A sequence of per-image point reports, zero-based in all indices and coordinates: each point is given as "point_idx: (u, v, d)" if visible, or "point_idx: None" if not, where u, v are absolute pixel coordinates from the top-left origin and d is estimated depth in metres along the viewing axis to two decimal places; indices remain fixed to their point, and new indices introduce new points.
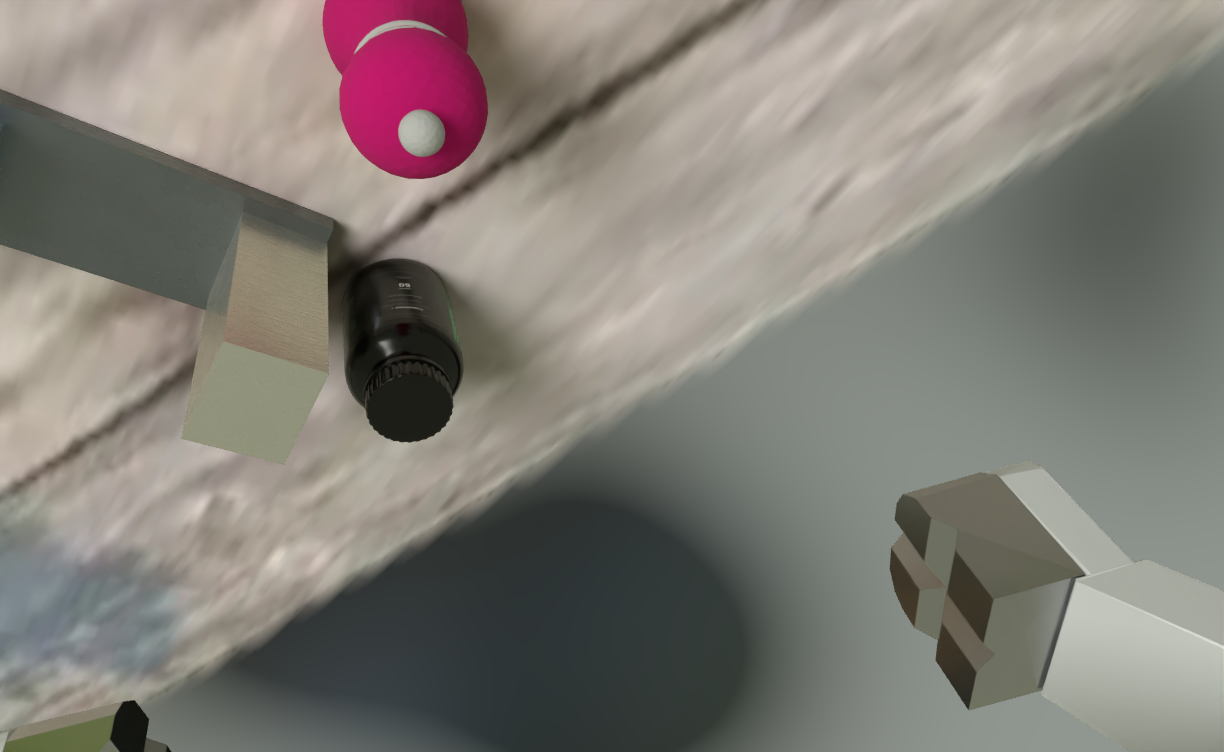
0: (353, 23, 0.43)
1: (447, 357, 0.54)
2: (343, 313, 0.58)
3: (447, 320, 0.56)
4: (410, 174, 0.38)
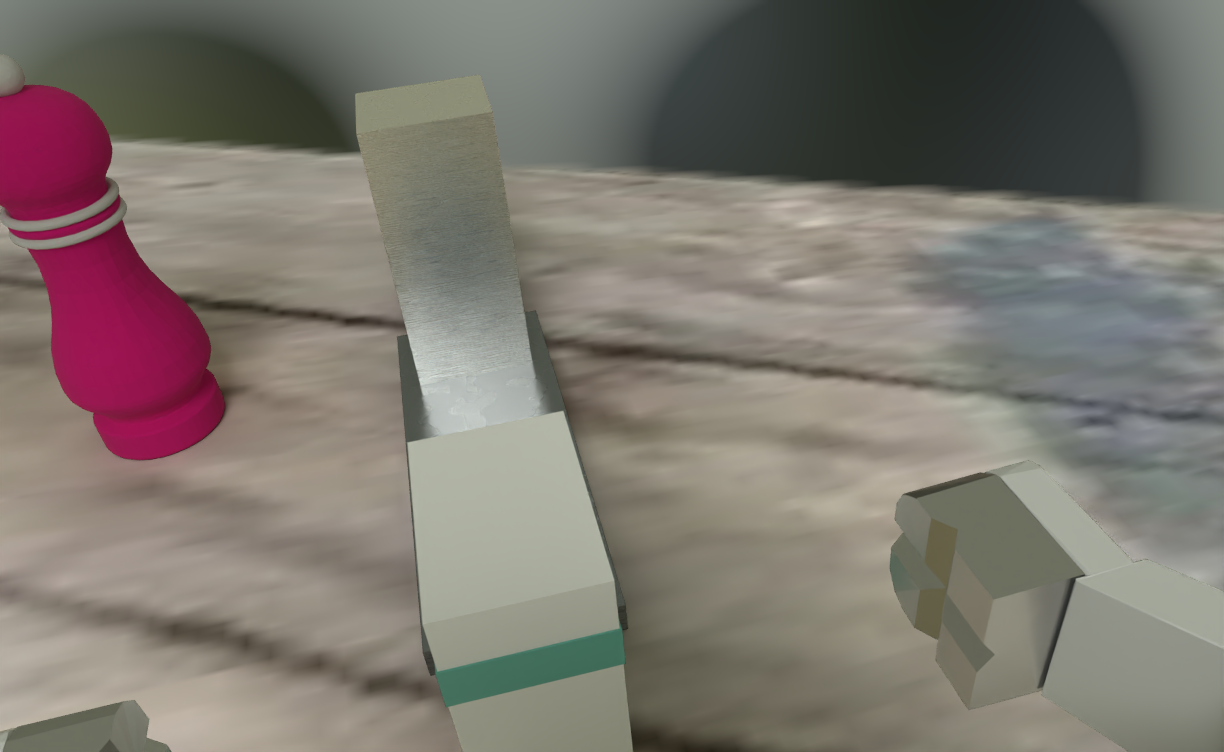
0: (94, 328, 0.44)
1: None
2: None
3: None
4: (75, 98, 0.41)
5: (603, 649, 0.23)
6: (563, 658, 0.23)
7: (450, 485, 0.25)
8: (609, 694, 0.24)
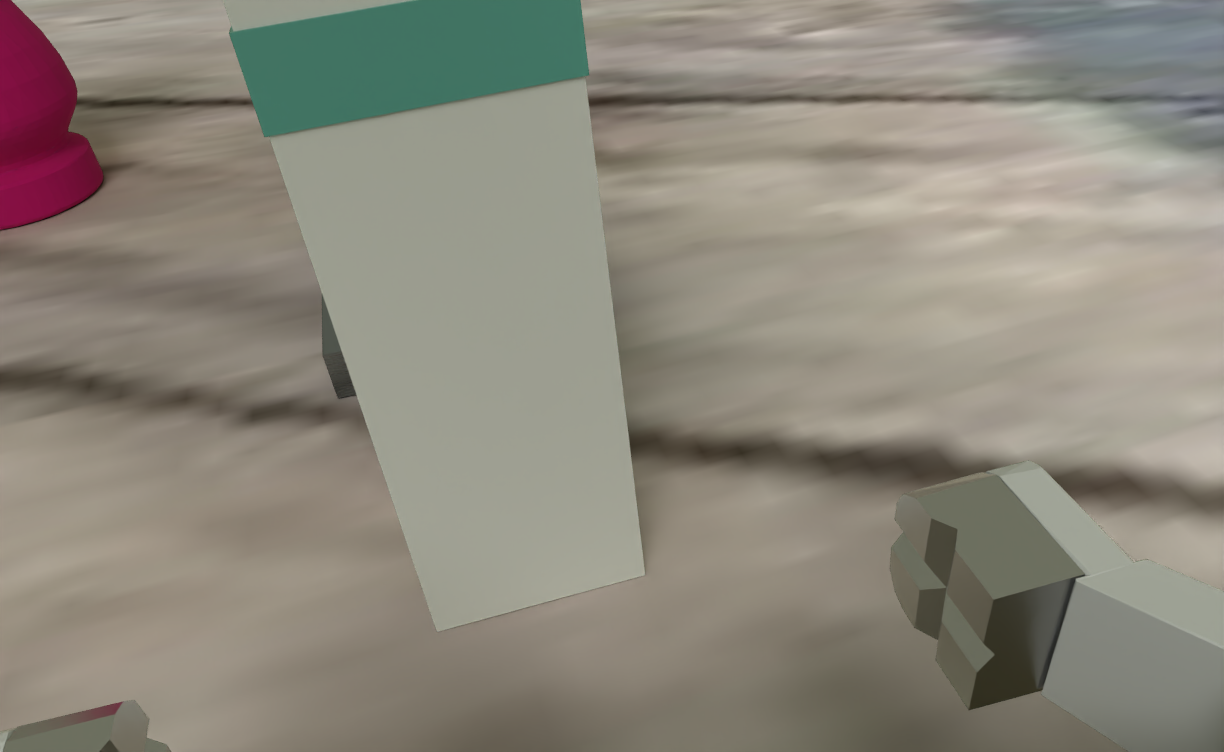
0: None
1: None
2: None
3: None
4: None
5: (546, 26, 0.13)
6: (473, 37, 0.13)
7: None
8: (565, 160, 0.14)
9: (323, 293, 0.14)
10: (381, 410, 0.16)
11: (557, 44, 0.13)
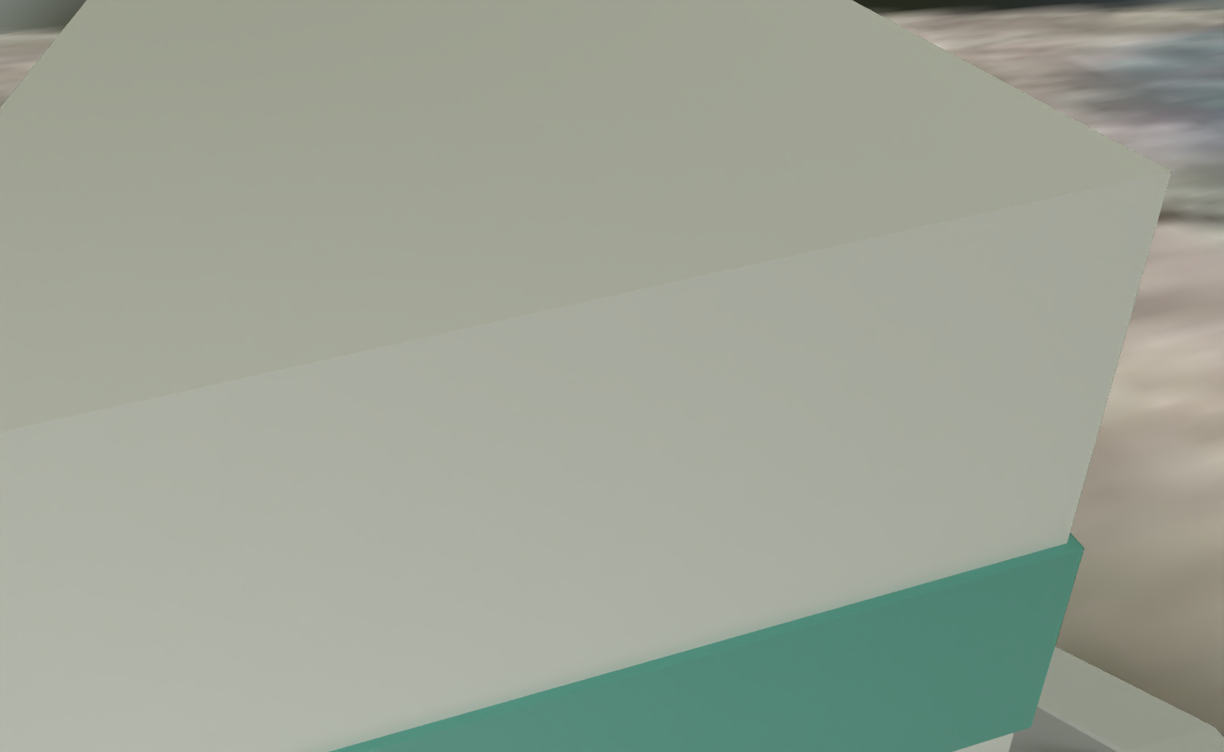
0: None
1: None
2: None
3: None
4: None
5: (961, 664, 0.04)
6: (760, 719, 0.04)
7: (215, 16, 0.06)
8: None
9: None
10: None
11: (976, 691, 0.05)
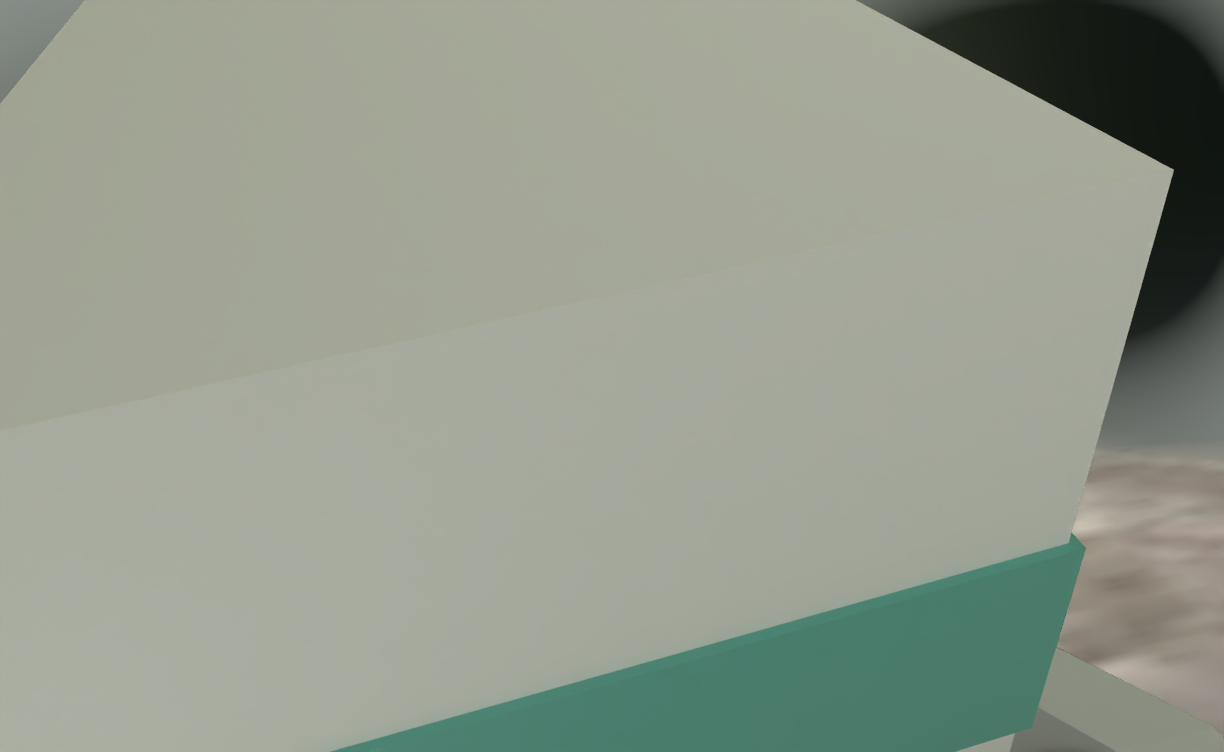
0: None
1: None
2: None
3: None
4: None
5: (960, 663, 0.04)
6: (761, 720, 0.04)
7: (213, 13, 0.06)
8: None
9: None
10: None
11: (977, 692, 0.05)
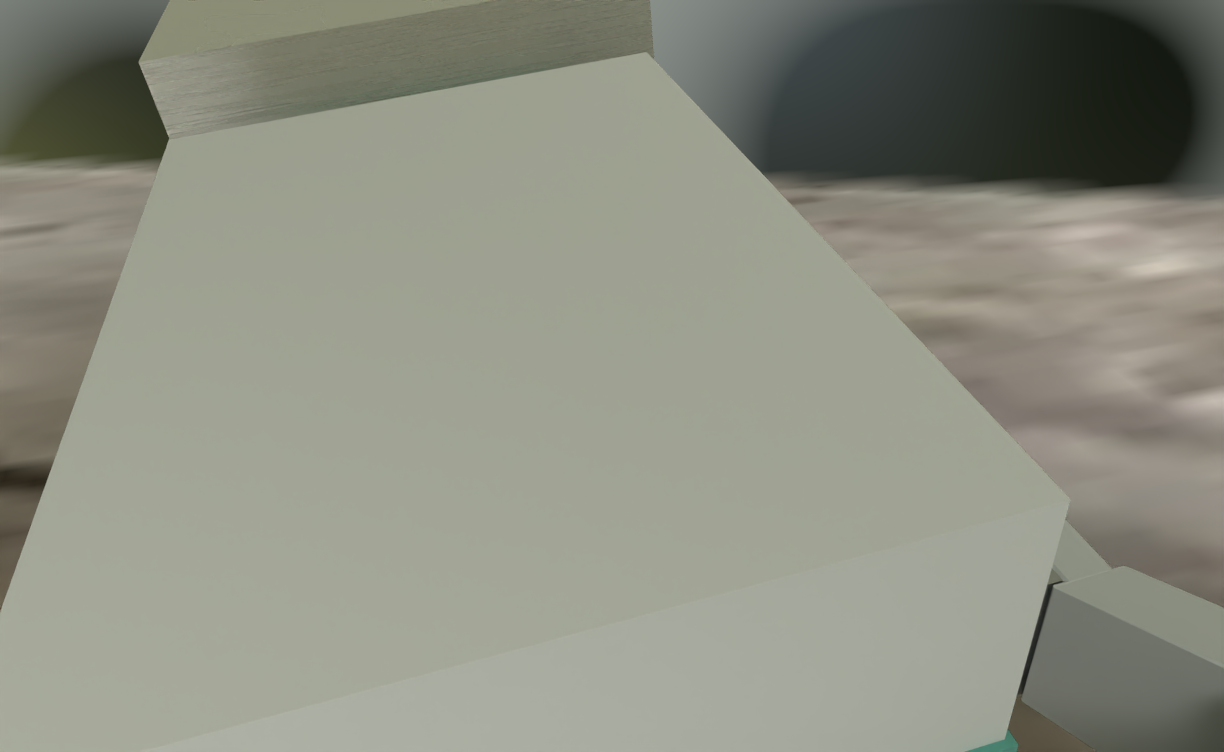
0: None
1: None
2: None
3: None
4: None
5: None
6: None
7: (273, 219, 0.07)
8: None
9: None
10: None
11: None
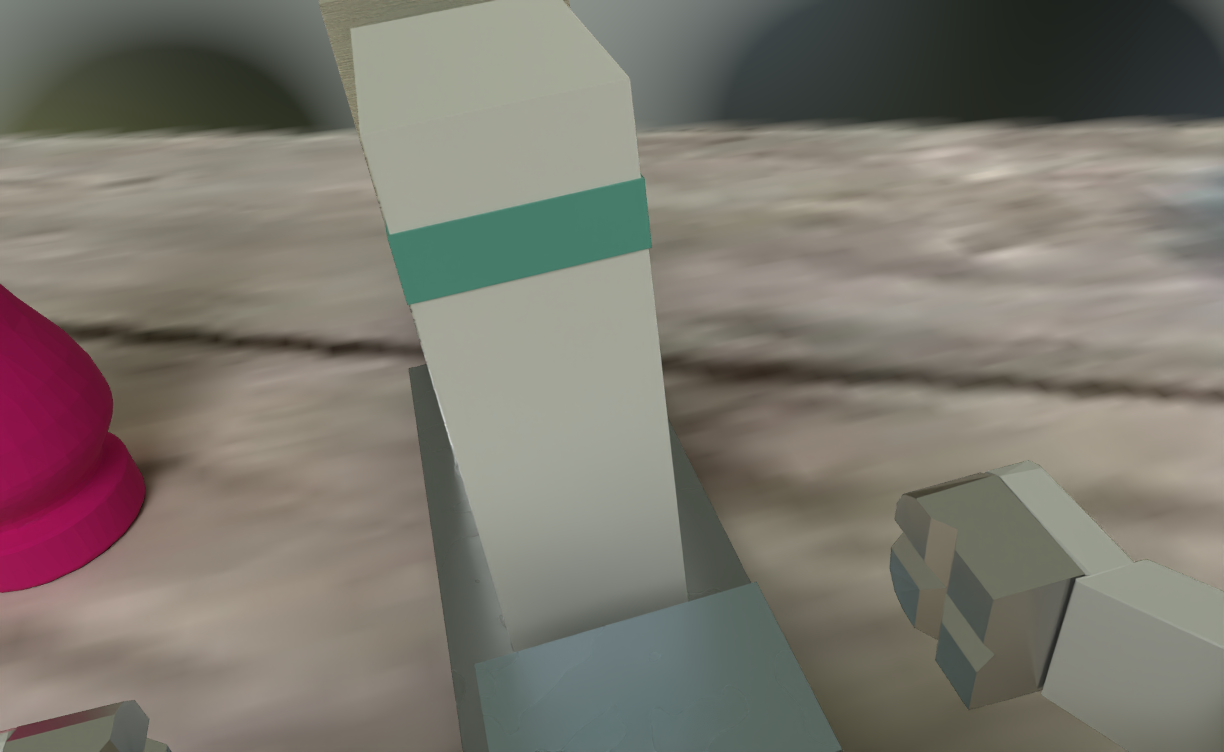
0: None
1: None
2: None
3: None
4: None
5: (620, 216, 0.17)
6: (565, 227, 0.17)
7: (404, 46, 0.18)
8: (632, 307, 0.18)
9: (443, 412, 0.18)
10: (482, 496, 0.20)
11: (628, 228, 0.17)
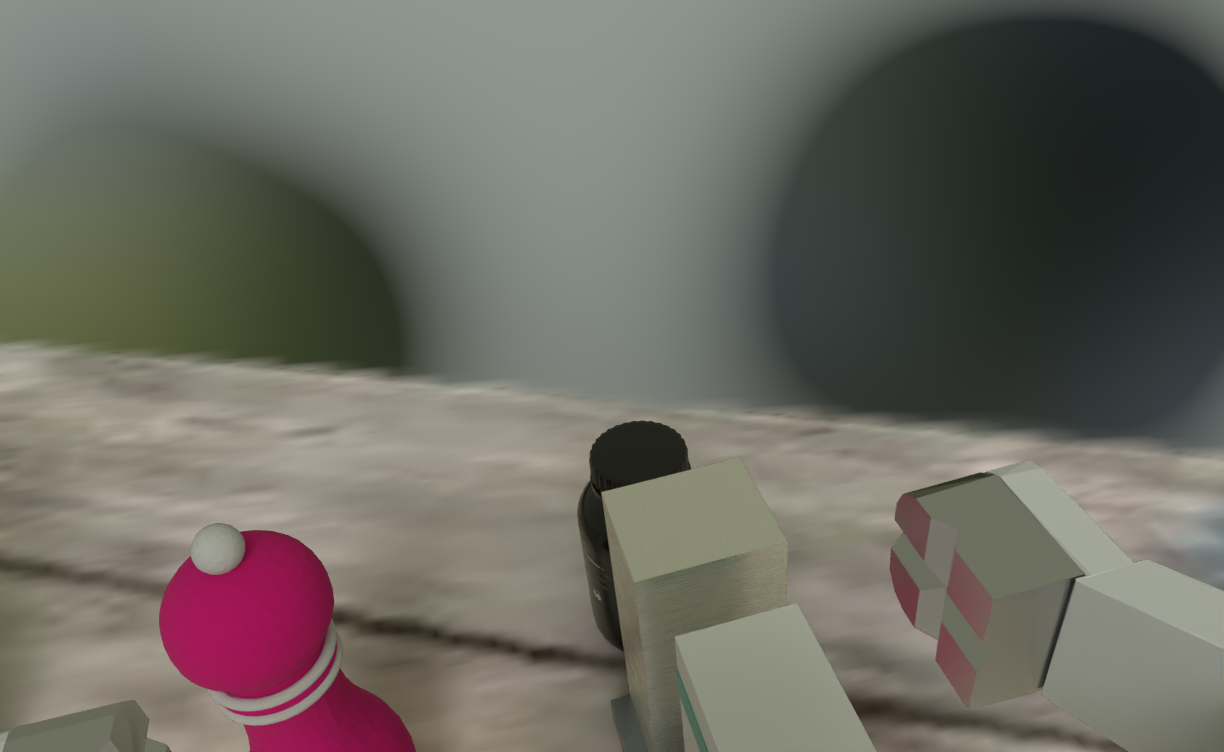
0: None
1: (590, 484, 0.48)
2: None
3: None
4: (297, 549, 0.34)
5: None
6: None
7: (723, 679, 0.30)
8: None
9: None
10: None
11: None
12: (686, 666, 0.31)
